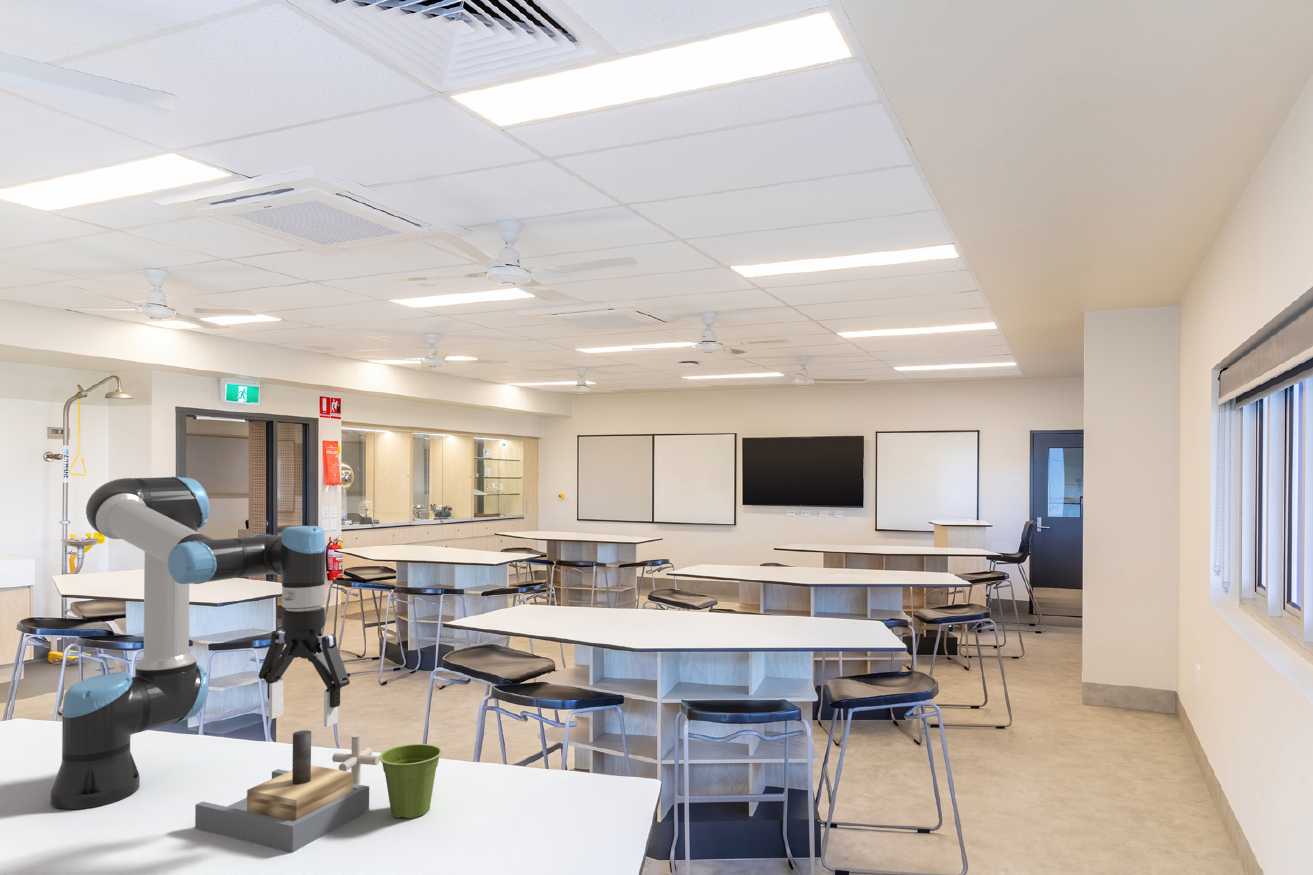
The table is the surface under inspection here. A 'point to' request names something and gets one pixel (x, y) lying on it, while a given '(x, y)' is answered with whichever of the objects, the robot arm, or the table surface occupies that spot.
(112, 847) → the table surface
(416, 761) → the plant pot
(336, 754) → the pipe connector
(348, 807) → the bay
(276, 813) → the wooden block with peg
